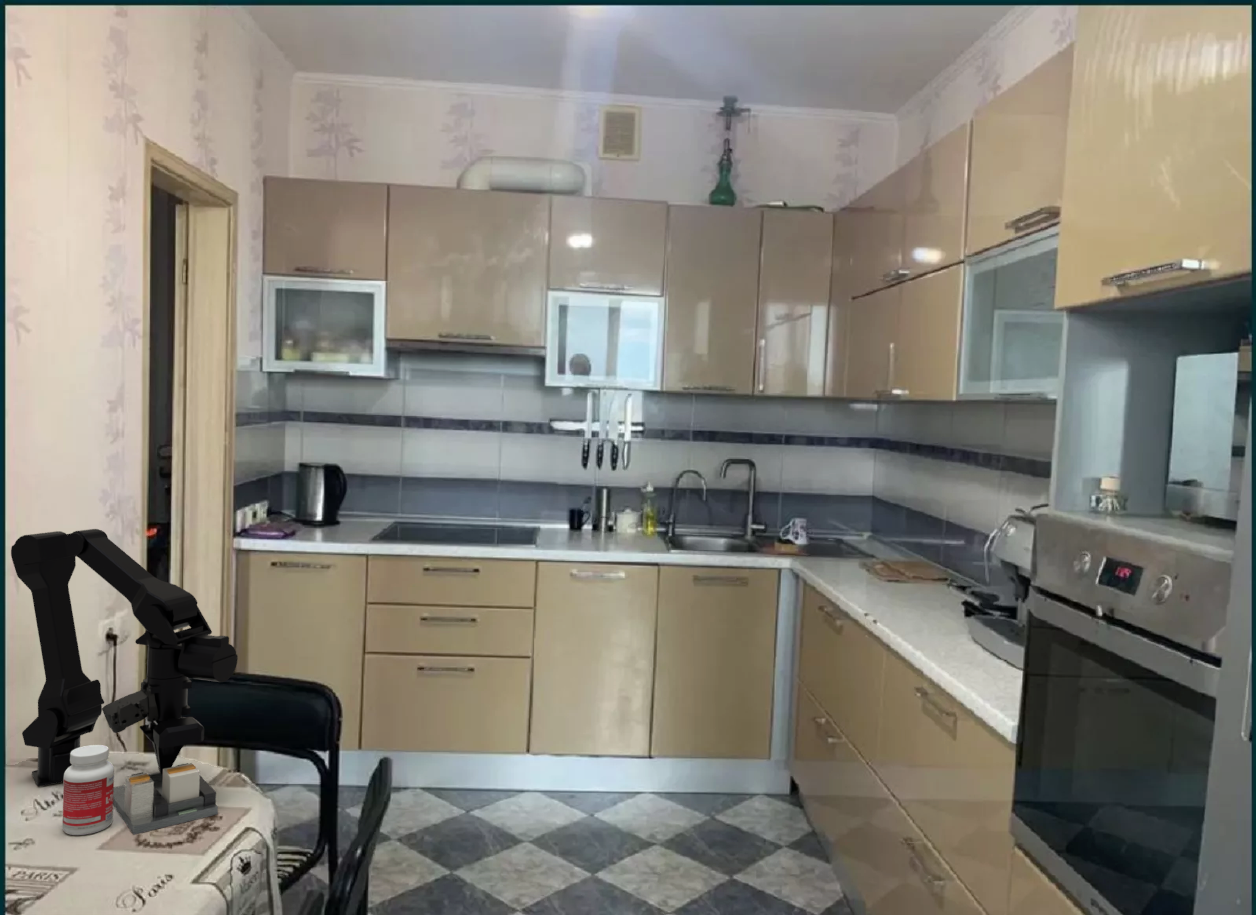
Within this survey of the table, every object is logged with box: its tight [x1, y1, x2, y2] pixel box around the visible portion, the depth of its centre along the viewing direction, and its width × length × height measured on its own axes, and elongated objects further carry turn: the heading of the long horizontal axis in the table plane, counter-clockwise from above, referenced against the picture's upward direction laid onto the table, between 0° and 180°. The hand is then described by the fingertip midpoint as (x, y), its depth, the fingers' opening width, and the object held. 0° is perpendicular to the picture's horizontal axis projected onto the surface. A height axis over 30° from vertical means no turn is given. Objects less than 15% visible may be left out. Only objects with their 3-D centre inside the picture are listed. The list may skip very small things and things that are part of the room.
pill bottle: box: [61, 744, 115, 836], centre depth 126 cm, size 6×6×11 cm
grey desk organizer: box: [113, 762, 219, 835], centre depth 134 cm, size 16×11×6 cm
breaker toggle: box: [162, 762, 201, 804], centre depth 131 cm, size 4×4×5 cm
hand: (164, 773), depth 138 cm, fingers closed
